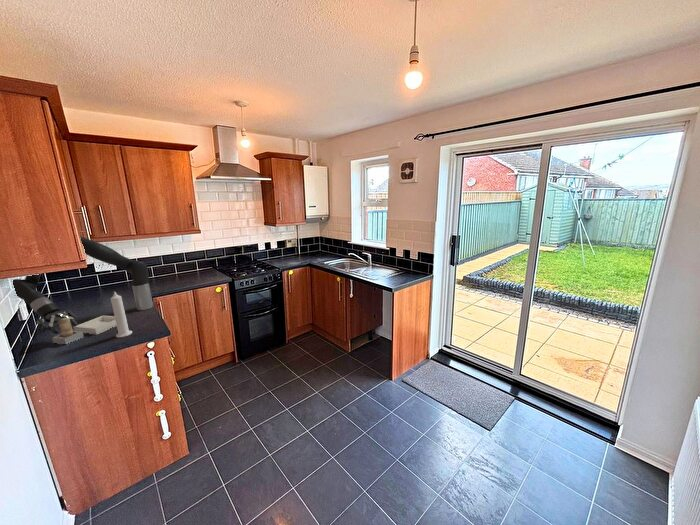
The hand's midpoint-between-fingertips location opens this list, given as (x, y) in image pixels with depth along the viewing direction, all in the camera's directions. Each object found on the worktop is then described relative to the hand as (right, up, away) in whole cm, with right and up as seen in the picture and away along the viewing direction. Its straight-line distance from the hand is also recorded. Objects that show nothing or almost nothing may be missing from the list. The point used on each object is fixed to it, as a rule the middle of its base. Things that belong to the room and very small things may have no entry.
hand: (67, 329), depth 150 cm
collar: (0, -6, +2) cm, 7 cm away
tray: (+3, -3, +17) cm, 17 cm away
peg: (0, -6, +2) cm, 7 cm away
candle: (+25, -5, +6) cm, 27 cm away
